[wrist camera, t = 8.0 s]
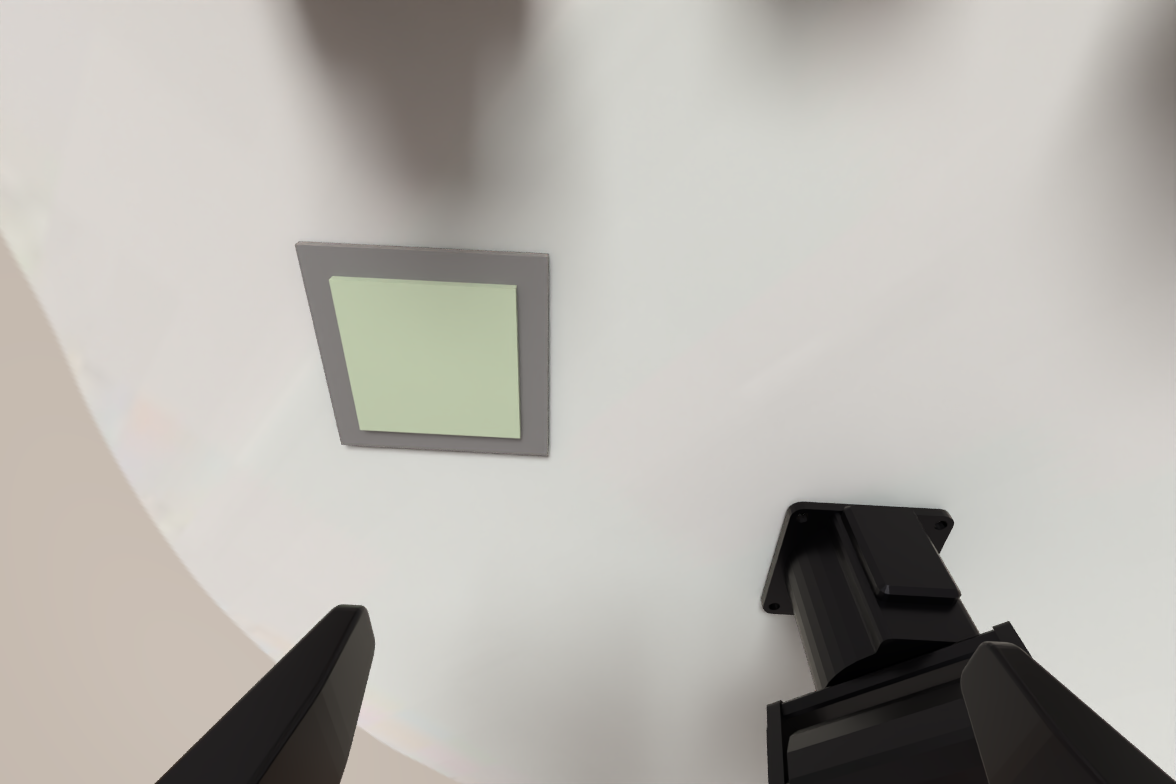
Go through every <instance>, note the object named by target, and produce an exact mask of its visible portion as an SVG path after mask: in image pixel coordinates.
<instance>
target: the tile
mask: <svg viewBox="0 0 1176 784" xmlns="http://www.w3.org/2000/svg"><path fill="white" fill-rule="evenodd" d="M295 247H296V252H297V256H298V260H299V265H300V269H301V273H302V277H303V282H304V286H305V290H306V295H307V299H308V303H309V307H310V312H311V316H312V320H313V325H314V329H315V333H316V338H317V342H318V346H319V350H320V355H321V359H322V363H323V368H324V372H325V376H326V380H327V385H328V389H329V393H330V398H331V402H332V406H333V410H334V415H335V419H336V423H337V428H338V432H339V436H340V441H341V445H356V446H375V447H394V448H412V449H431V450H450V451H469V452H487V453H506V454H525V455H544V456H548V297H549V254H543V253H523V252H503V251H482V250H462V249H442V248H422V247H401V246H381V245H361V244H341V243H320V242H300V241H299V242H298V243H296V244H295Z"/></svg>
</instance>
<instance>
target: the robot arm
mask: <svg viewBox="0 0 1176 784" xmlns="http://www.w3.org/2000/svg"><path fill="white" fill-rule="evenodd" d="M802 513H805V514H803V515H799V514H802ZM798 515H799V516H798ZM953 525H954V521H953V519H952V517H951V516H950V514H949V513H948V512H947V511H946V510H942V509H928V508H909V507H890V506H872V505H853V504H835V503H816V502H797V503H794V504H792V505H791V506H790V507H789V509H788V510H787V514H786V517H785V521H784V524H783V527H782V531H781V534H780V537H779V541H778V544H777V548H776V551H775V554H774V558H773V561H772V565H771V568H770V571H769V575H768V578H767V581H766V585H765V588H764V592H763V595H762V598H761V602H762V606H763V609H764V611H766V612H767V613H771V614H787V615H795V619H796V622H797V626H798V629H799V633H800V636H801V640H802V643H803V647H804V650H805V654H806V657H807V660H808V664H809V667H810V671H811V674H812V678H813V681H814V685H815V688H816V691H814V692H812V693H809V694H806V695H803V696H800V697H797V698H794V699H791V700H788V701H785V702H782V701H781V700H780V701H777V702H774V703H771V704H768V705H767V756H768V784H1176V781H1175V780H1173V779H1172V778H1171V777H1170V776H1169V775H1168V774H1166V773H1165V772H1164V771H1163V770H1162V769H1161V768H1160V767H1158V766H1157V765H1156V764H1155V763H1154V762H1153V761H1151V760H1150V759H1149V758H1148V757H1147V756H1146V755H1144V754H1143V753H1142V752H1141V751H1140V750H1139V749H1137V748H1136V747H1135V746H1134V745H1133V744H1132V743H1130V742H1129V741H1128V740H1127V739H1126V738H1125V737H1123V736H1122V735H1121V734H1120V733H1119V732H1118V731H1116V730H1115V729H1114V728H1113V727H1112V726H1111V725H1109V724H1108V723H1107V722H1106V721H1105V720H1104V719H1102V718H1101V717H1100V716H1099V715H1098V714H1097V713H1096V712H1094V711H1093V710H1092V709H1091V708H1090V707H1089V706H1087V705H1086V704H1085V703H1084V702H1083V701H1082V700H1080V699H1079V698H1078V697H1077V696H1076V695H1075V694H1073V693H1072V692H1071V691H1070V690H1069V689H1068V688H1066V687H1065V686H1064V685H1063V684H1062V683H1061V682H1059V681H1058V680H1057V679H1056V678H1055V677H1054V676H1052V675H1051V674H1050V673H1049V672H1048V671H1047V670H1045V669H1044V668H1043V667H1042V666H1041V665H1040V664H1039V663H1037V662H1036V661H1035V660H1034V659H1033V658H1032V657H1031V655H1030V653H1029V652H1028V650H1027V649H1026V647H1025V645H1024V644H1023V642H1022V641H1021V639H1020V637H1019V636H1018V634H1017V633H1016V631H1015V630H1014V628H1013V626H1012V625H1011V623H1010V622H1009V621H1007V622H1004V623H1002V624H999V625H996V626H993V629H994V630H991V631H988V632H985V633H982V634H980V633H979V631H978V629H977V628H976V626H975V624H974V622H973V621H972V619H971V617H970V615H969V614H968V612H967V610H966V608H965V607H964V605H963V603H962V601H961V600H960V596H961V592H960V590H959V588H958V586H957V585H956V583H955V581H954V579H953V578H952V576H951V574H950V572H949V571H948V569H947V567H946V566H945V564H944V562H943V560H942V559H941V557H940V555H939V553H940V551H941V549H942V547H943V545H944V543H945V541H946V540H947V538H948V536H949V534H950V532H951V530H952V528H953ZM374 650H375V638H374V634H373V630H372V626H371V622H370V618H369V614H368V611H367V609H366V608H365V607H364V606H362V605H345V604H342V605H338V606H336V607H334V608H333V609H332V610H331V611H330V612H329V613H328V614H327V615H326V616H325V617H324V618H323V619H322V620H321V621H319V622H318V623H317V624H316V625H315V626H314V627H313V628H312V629H311V630H310V631H309V632H308V633H307V634H306V635H305V636H304V637H303V638H302V639H301V640H300V641H299V642H298V643H297V644H296V645H295V646H294V647H293V648H292V649H291V650H290V651H289V652H288V653H287V654H286V655H285V656H284V657H283V658H282V659H281V660H280V661H279V662H278V663H277V664H276V665H275V666H274V667H273V668H272V669H271V670H270V671H269V672H268V673H267V674H266V675H265V676H264V677H263V678H262V679H261V680H260V681H259V682H257V683H256V684H255V686H254V687H252V688H251V689H250V690H249V691H248V692H247V693H246V694H245V695H244V696H243V697H242V698H241V699H240V700H239V701H238V702H237V703H236V704H235V705H234V706H233V707H232V708H231V709H230V710H229V711H228V712H227V713H226V714H225V715H224V716H223V717H222V718H221V719H220V720H219V721H218V722H217V723H216V724H215V725H214V726H213V727H212V728H211V729H210V730H209V731H208V732H207V733H206V734H205V735H204V736H203V737H202V738H201V739H200V740H199V741H198V742H197V743H195V744H194V745H193V746H192V747H191V748H190V749H189V750H188V751H187V753H185V754H184V755H183V756H182V757H181V758H180V759H179V760H178V761H177V762H176V763H175V764H174V765H173V766H172V767H171V768H170V769H169V770H168V771H167V772H166V773H165V774H164V775H163V776H162V777H161V778H160V779H159V780H158V781H157V782H156V783H155V784H340V781H341V778H342V775H343V772H344V769H345V766H346V763H347V760H348V756H349V752H350V749H351V745H352V741H353V737H354V732H355V729H356V725H357V721H358V717H359V713H360V709H361V705H362V701H363V697H364V692H365V688H366V684H367V680H368V676H369V672H370V668H371V664H372V660H373V656H374Z"/></svg>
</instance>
